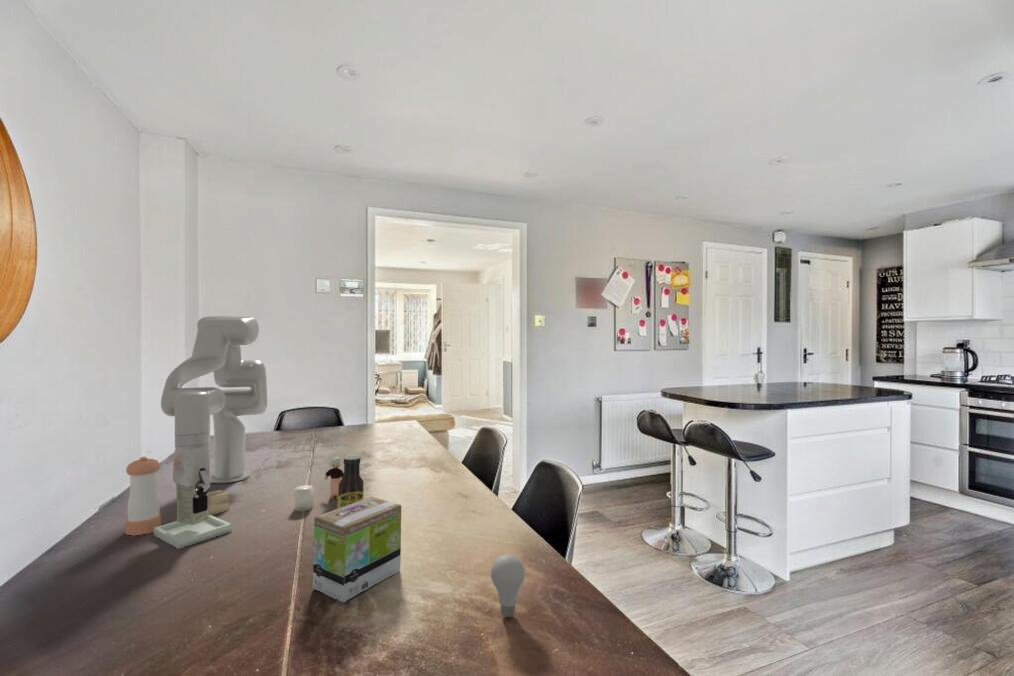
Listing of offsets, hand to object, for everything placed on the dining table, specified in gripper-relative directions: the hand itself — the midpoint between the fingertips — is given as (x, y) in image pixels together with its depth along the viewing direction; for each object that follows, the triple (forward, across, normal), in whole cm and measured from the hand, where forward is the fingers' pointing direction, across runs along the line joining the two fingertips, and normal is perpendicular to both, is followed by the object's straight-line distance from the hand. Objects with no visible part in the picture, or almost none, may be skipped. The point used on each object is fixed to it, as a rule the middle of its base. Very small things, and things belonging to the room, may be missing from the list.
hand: (192, 508), depth 119 cm
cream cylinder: (+7, +8, +26) cm, 28 cm away
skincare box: (+4, 0, 0) cm, 4 cm away
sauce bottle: (+7, +35, +21) cm, 41 cm away
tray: (+6, 0, 0) cm, 6 cm away
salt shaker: (+7, -13, -6) cm, 16 cm away
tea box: (+7, +54, +8) cm, 55 cm away
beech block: (+7, -12, +11) cm, 18 cm away
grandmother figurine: (+7, +8, +37) cm, 38 cm away
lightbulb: (+7, +87, +14) cm, 88 cm away
